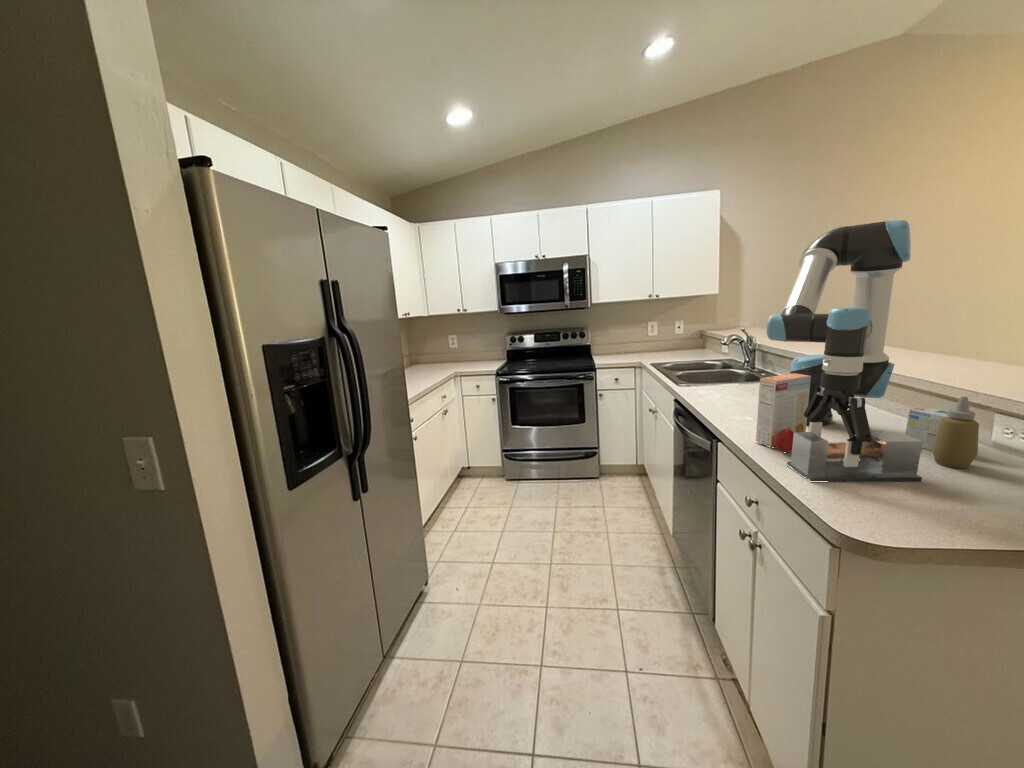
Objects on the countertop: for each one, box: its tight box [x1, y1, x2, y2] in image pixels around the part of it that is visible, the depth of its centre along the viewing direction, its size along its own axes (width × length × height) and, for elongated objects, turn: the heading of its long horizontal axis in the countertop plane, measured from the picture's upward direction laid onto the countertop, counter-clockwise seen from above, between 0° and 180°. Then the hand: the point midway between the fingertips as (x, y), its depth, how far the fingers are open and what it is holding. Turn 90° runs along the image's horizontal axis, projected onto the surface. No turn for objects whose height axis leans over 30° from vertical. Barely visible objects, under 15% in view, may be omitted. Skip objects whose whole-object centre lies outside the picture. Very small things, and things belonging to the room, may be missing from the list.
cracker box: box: [755, 373, 811, 448], centre depth 123 cm, size 14×6×21 cm, turn 108°
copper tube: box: [826, 441, 882, 460], centre depth 101 cm, size 4×18×4 cm, turn 85°
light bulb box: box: [905, 406, 948, 451], centre depth 115 cm, size 11×7×11 cm, turn 17°
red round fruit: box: [774, 427, 794, 454], centre depth 116 cm, size 6×6×8 cm
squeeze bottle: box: [931, 396, 980, 469], centre depth 103 cm, size 8×8×18 cm
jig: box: [786, 431, 923, 483], centre depth 101 cm, size 10×25×10 cm, turn 85°
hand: (830, 455), depth 102 cm, fingers open, 13 cm apart
